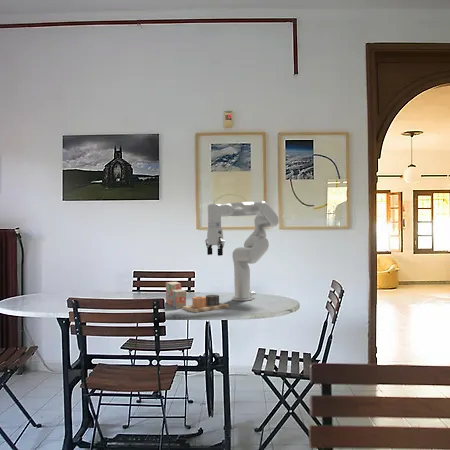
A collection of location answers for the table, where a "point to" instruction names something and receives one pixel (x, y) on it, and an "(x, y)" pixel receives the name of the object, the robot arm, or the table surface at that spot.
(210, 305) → the gear board
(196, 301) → the loose gear
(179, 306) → the stack of blocks
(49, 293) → the table surface
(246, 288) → the robot arm
